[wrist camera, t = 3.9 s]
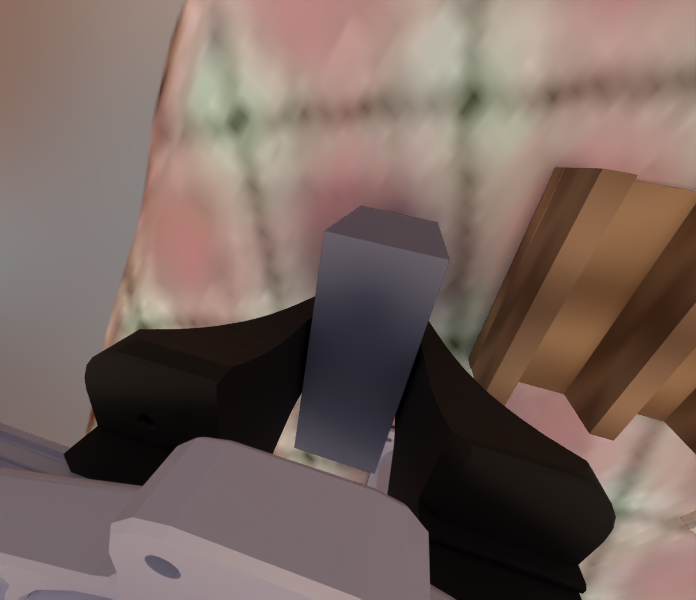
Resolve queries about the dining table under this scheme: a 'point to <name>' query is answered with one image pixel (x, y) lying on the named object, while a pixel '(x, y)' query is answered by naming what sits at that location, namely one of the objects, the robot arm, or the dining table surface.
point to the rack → (601, 304)
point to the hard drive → (690, 521)
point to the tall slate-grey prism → (366, 331)
